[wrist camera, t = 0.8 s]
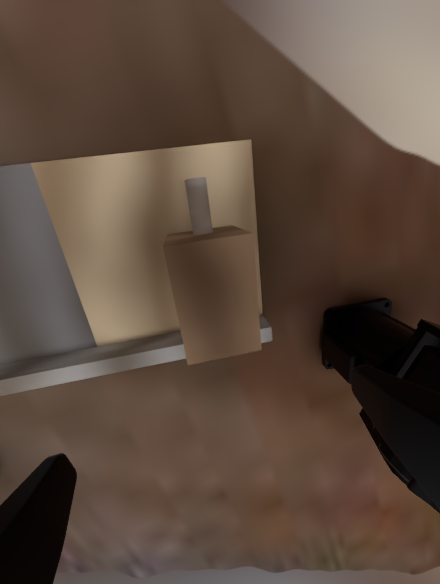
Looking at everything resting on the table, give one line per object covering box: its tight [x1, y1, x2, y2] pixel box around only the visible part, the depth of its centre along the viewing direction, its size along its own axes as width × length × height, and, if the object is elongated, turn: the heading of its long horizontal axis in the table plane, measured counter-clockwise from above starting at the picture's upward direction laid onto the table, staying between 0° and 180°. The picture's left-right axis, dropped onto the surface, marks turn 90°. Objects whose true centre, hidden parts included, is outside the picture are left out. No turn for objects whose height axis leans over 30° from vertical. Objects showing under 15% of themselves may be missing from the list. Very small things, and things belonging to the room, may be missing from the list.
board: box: [0, 139, 272, 396], centre depth 16 cm, size 21×14×4 cm, turn 97°
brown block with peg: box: [163, 177, 262, 365], centre depth 15 cm, size 4×10×5 cm, turn 7°
